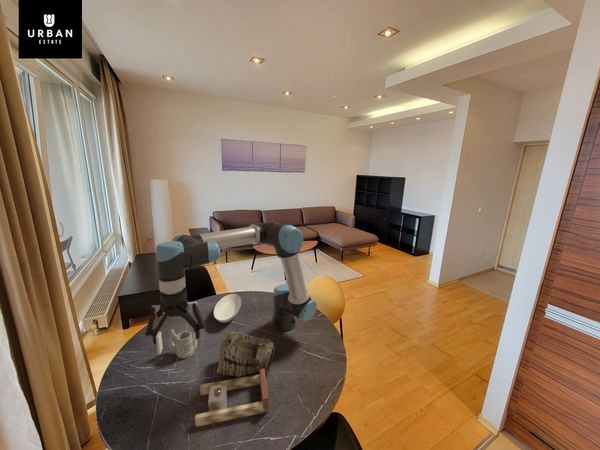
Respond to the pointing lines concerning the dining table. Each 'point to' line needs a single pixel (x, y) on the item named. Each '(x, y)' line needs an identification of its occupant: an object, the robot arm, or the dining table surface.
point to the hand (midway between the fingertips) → (178, 348)
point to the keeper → (217, 397)
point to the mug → (182, 344)
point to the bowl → (227, 308)
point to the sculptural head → (244, 355)
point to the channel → (238, 410)
